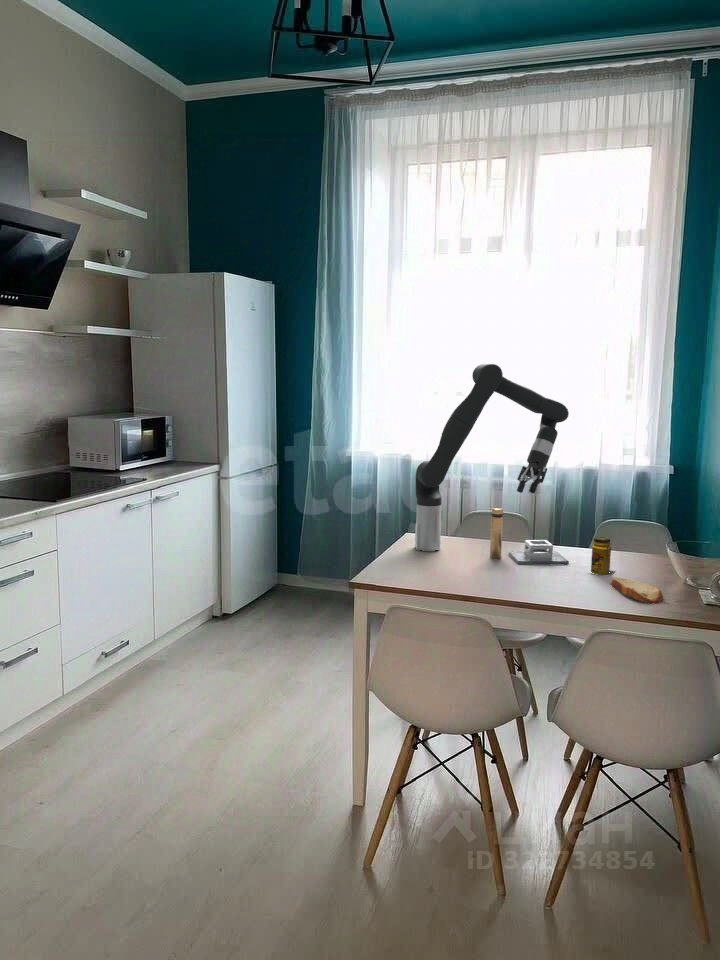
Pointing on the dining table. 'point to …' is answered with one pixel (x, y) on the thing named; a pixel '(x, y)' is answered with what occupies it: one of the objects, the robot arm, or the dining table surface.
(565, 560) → the grey socket base
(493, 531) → the wooden peg
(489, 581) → the dining table surface
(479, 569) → the dining table surface
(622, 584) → the slice of bread
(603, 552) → the condiment
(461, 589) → the dining table surface
